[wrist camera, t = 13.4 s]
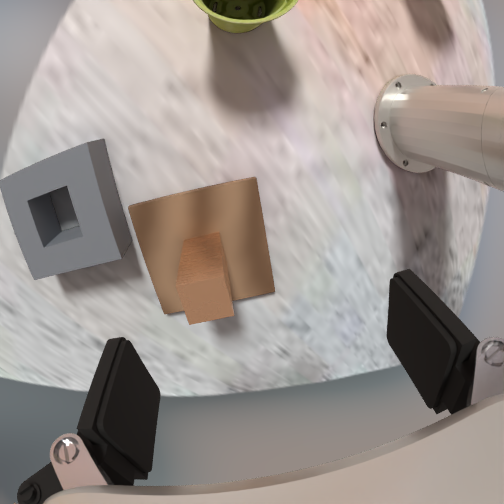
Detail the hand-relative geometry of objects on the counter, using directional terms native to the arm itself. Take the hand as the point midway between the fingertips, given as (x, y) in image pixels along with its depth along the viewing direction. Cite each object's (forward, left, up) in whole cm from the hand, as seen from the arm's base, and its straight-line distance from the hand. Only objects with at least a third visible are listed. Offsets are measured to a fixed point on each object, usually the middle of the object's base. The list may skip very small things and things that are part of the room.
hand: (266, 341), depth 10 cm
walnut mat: (+4, +7, -25) cm, 26 cm away
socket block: (+18, -2, -25) cm, 31 cm away
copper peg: (+4, +7, -24) cm, 25 cm away
